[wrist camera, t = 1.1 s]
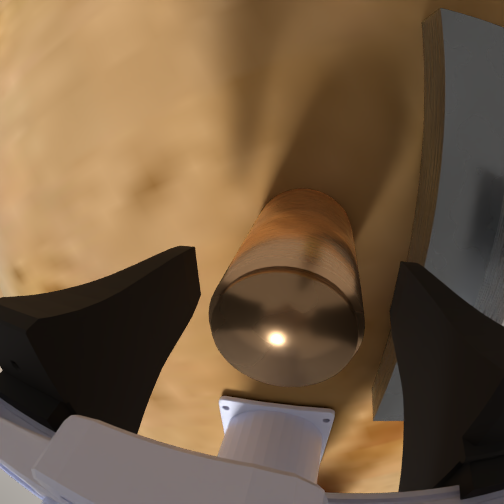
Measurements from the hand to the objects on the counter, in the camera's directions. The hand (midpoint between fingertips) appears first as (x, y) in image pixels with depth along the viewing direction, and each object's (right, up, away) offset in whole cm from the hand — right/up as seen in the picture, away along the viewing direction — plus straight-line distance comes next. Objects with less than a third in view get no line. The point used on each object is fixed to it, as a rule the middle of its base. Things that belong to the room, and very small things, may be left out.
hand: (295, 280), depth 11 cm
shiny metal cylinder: (+1, +2, +4) cm, 4 cm away
